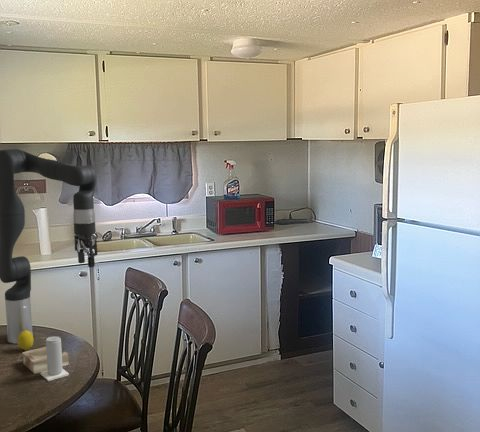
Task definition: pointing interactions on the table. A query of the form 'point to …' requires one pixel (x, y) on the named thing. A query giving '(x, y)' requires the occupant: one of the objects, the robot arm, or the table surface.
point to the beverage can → (54, 355)
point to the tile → (52, 377)
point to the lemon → (25, 340)
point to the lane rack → (40, 360)
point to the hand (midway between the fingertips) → (86, 264)
